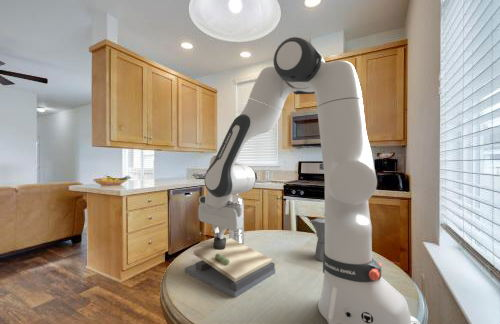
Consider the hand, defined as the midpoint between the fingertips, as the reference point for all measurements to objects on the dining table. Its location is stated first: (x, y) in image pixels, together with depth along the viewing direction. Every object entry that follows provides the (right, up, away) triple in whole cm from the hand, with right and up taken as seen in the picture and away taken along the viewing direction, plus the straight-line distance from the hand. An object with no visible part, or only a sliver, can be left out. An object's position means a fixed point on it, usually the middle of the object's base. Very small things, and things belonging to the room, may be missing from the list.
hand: (219, 238), depth 85 cm
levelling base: (+4, -11, -4) cm, 12 cm away
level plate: (+5, -5, -4) cm, 9 cm away
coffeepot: (+43, -11, +9) cm, 45 cm away
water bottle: (+5, -11, +22) cm, 25 cm away
